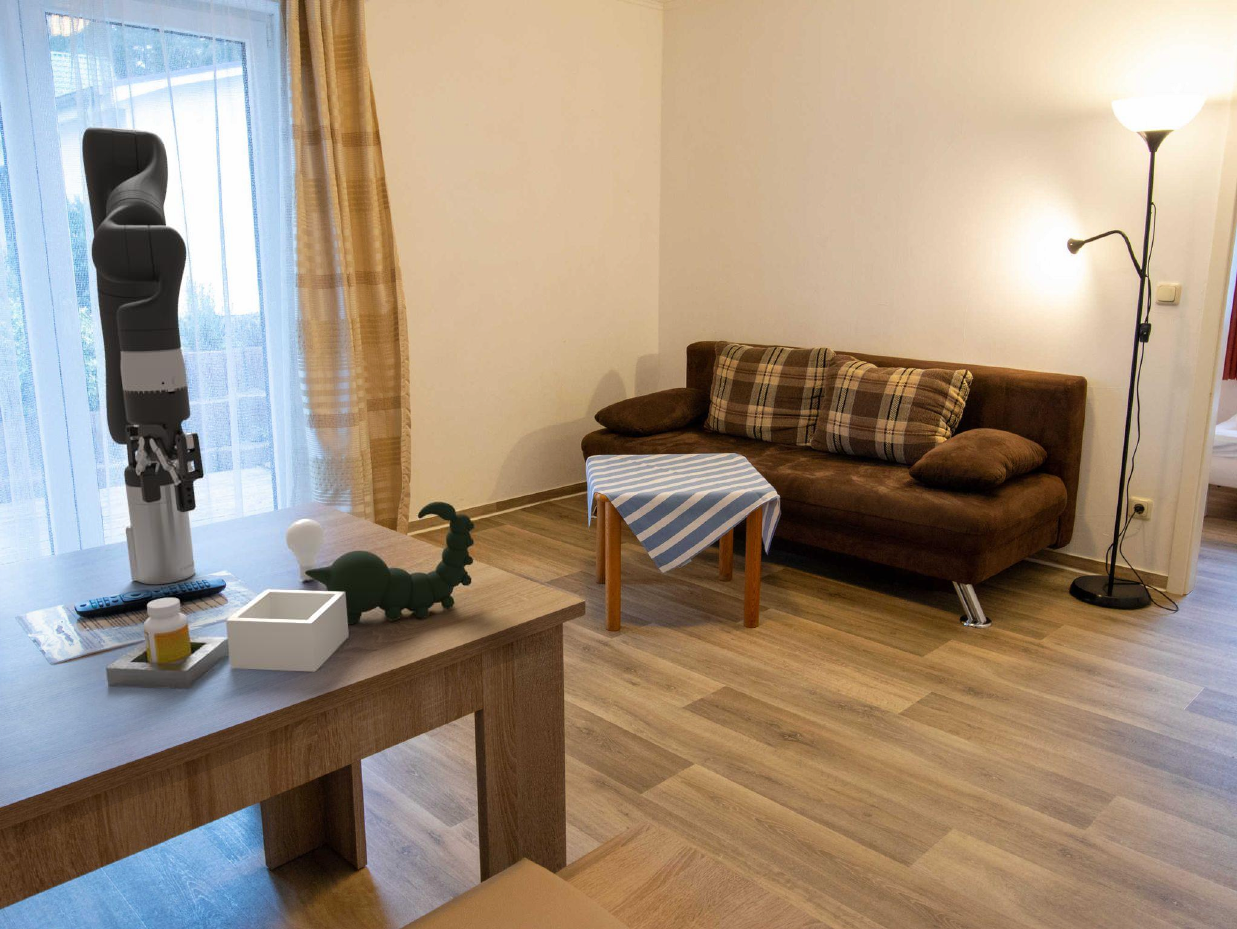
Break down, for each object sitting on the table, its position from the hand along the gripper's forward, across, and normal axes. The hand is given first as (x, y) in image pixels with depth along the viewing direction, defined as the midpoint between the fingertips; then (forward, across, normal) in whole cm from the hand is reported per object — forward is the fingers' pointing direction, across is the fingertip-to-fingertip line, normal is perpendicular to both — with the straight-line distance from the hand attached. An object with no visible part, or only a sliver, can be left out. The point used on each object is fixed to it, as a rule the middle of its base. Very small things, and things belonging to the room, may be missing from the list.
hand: (169, 506), depth 126 cm
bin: (+23, +8, +11) cm, 26 cm away
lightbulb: (+23, -15, +31) cm, 41 cm away
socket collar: (+23, -1, -2) cm, 23 cm away
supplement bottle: (+23, -1, -2) cm, 23 cm away
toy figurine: (+23, +9, +29) cm, 38 cm away
